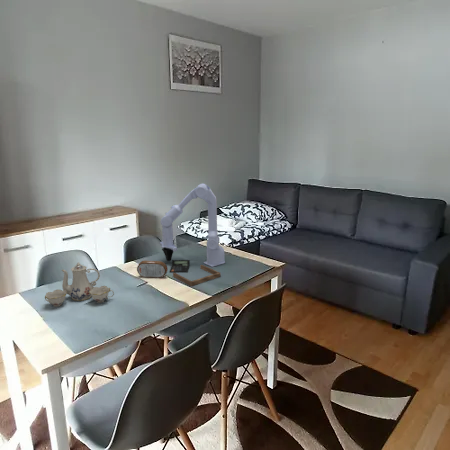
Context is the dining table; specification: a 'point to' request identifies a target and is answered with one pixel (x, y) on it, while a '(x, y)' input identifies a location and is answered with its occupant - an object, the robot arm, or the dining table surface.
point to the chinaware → (78, 288)
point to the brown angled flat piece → (201, 280)
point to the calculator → (180, 266)
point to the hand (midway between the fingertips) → (168, 260)
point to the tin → (152, 269)
